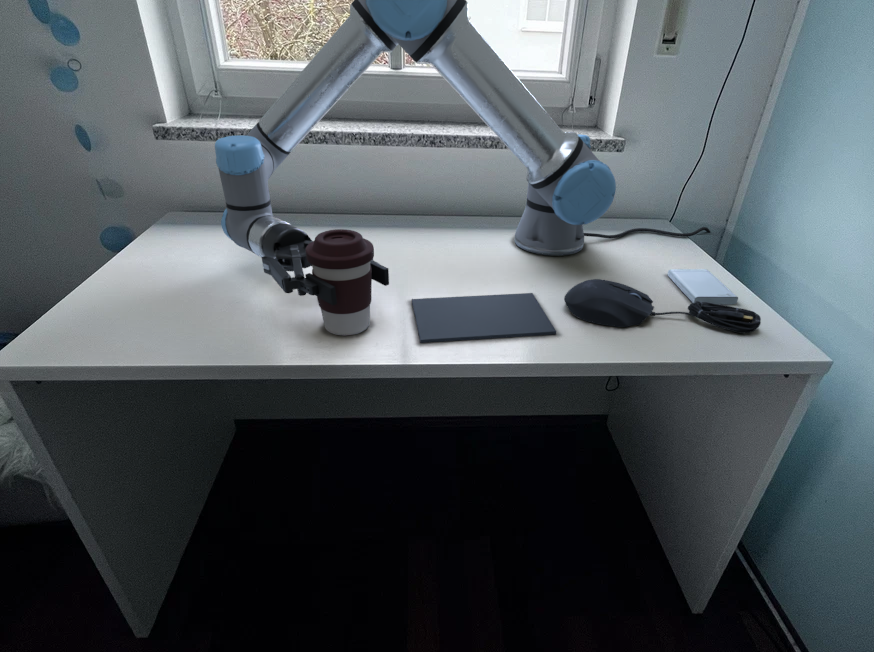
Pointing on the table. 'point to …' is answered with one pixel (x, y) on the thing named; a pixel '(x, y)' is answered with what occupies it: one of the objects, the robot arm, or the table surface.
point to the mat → (480, 317)
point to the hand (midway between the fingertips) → (361, 286)
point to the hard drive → (702, 286)
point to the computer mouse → (646, 307)
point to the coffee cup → (343, 278)
